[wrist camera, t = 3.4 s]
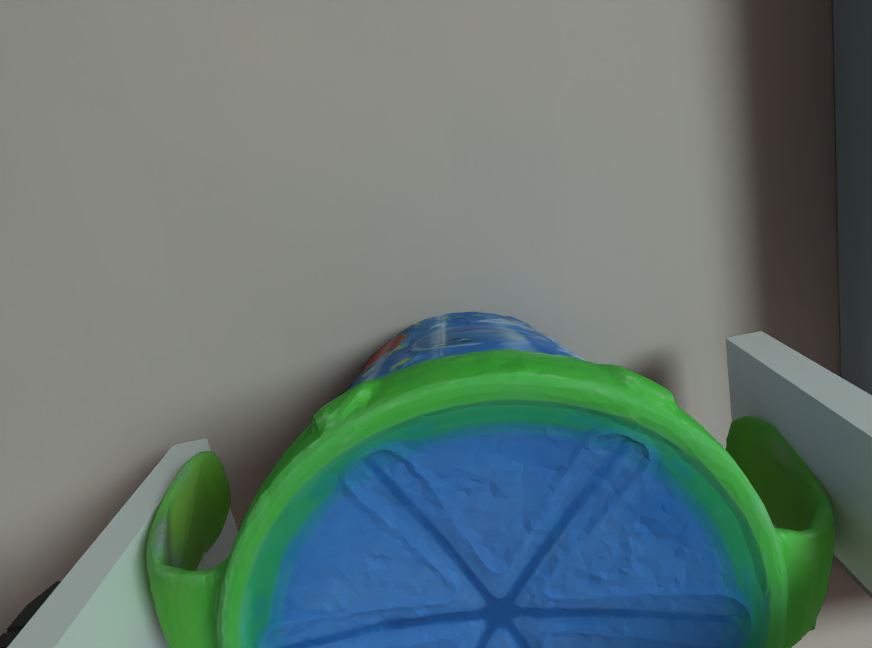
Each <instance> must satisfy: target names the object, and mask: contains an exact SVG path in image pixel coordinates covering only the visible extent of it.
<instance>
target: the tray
mask: <svg viewBox="0 0 872 648" xmlns="http://www.w3.org/2000/svg"><path fill="white" fill-rule="evenodd" d="M833 33H834V79H835V124H836V170H837V215H838V261H839V307H840V352H841V378H843V379H844V380H846V381H848V382H850V383H851V384H853V385H855V386H856V387H858V388H860V389H862V390H863V391H865V392H867V393H868V394H870V395H872V0H833ZM845 571H846V572H847V573H848V574H849V575H850V576H851V577H852V578H853V579H854V580H855V581H856V582H857V583H858V584H859V585H860V586H861V587H862V588H863V589H864V590H865V591H866V592H867V593H868V594H869V595H870V597H871V598H872V593H871V592H870V591H869V590H868V589H867V588H866V587H865V586H864V585H863V584H862V583H861V582H860V581H859V580H858V579H857V578H856V576H855V575H854V574H853V573H852V572H851V571H850V570H849V569H848V568H847V567H846V566H845Z"/></svg>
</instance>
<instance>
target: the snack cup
mask: <svg viewBox="0 0 872 648" xmlns="http://www.w3.org/2000/svg"><path fill="white" fill-rule="evenodd" d="M726 441H727V446H726V450H725V449H724V448H723V447H722V446H721V445H720V443H719V442H718V441H717V440H715V439H714V438H713V437H712V436H711V435H710V434H709V433H708V432H707V431H706V430H705V429H704V428H703V427H702V426H701V425H700V424H699V423H698V422H697V421H695V420H694V419H693V418H692V417H691V416H689V415H688V414H687V413H686V412H684V411H683V410H682V409H680V408H679V407H678V406H677V404H676V402H675V400H674V397H673V394H672V393H671V392H670V391H669V390H667V389H666V388H664V387H662V386H661V385H659V384H657V383H656V382H654V381H652V380H650V379H648V378H646V377H644V376H641V375H639V374H637V373H635V372H632V371H630V370H628V369H625V368H623V367H620V366H615V365H604V364H595V363H592V362H588V361H586V360H585V359H583V358H580V357H579V356H577V355H575V354H574V353H572V352H570V351H568V350H567V349H566V348H564V347H563V346H561V345H560V344H559V343H558V342H556V341H555V340H553V339H552V338H550V337H548V336H547V335H545V334H543V333H541V332H539V331H537V330H536V329H534V328H532V327H531V326H529V325H528V324H526V323H524V322H522V321H520V320H518V319H515V318H513V317H510V316H507V317H505V316H500V315H496V314H488V313H479V312H463V313H451V314H447V315H443V316H439V317H433V318H428V319H426V320H423V321H421V322H419V323H417V324H416V325H411V326H410V327H409V328H407V329H406V330H404V331H403V332H401V333H400V334H399V335H397V336H396V337H394V338H393V339H392V340H390V341H389V342H388V343H387V344H386V345H385V346H383V347H382V348H381V349H380V350H379V351H378V352H377V353H376V354H375V355H374V356H373V357H372V358H371V359H370V361H369V362H368V363H367V364H366V366H365V367H364V368H363V370H362V371H361V372H360V374H359V375H358V376H357V378H356V379H355V380H354V382H353V383H352V384H351V386H350V387H349V388H348V389H347V391H346V392H345V393H343V394H342V395H340V396H338V397H337V398H335V399H333V400H331V401H330V402H329V403H327V404H326V405H324V406H323V407H321V408H320V409H319V410H318V411H317V412H316V413H315V414H314V415H313V417H312V419H311V424H310V425H308V426H307V427H306V428H305V429H304V430H303V431H302V433H301V434H300V435H299V436H298V438H297V439H296V440H295V441H294V442H293V443H292V444H291V445H290V446H289V447H288V448H287V450H286V451H285V453H284V454H283V455H282V457H281V458H280V460H279V461H278V462H277V464H276V465H275V466H274V468H273V469H272V471H271V472H270V474H269V475H268V477H267V478H266V480H265V481H264V482H263V484H262V485H261V487H260V489H259V491H258V492H257V494H256V496H255V497H254V499H253V501H252V502H251V504H250V507H249V509H248V511H247V513H246V515H245V517H244V519H243V521H242V523H241V525H240V528H239V531H238V533H237V536H236V539H235V541H234V544H233V547H232V550H231V553H230V555H229V556H228V557H227V558H226V559H225V560H224V561H223V562H222V563H221V564H219V565H217V566H215V567H213V568H211V569H208V570H199V571H196V569H197V567H198V565H199V563H200V561H201V559H202V557H203V555H204V553H206V552H208V550H209V549H210V548H211V547H212V546H213V544H214V543H215V542H216V540H217V539H218V537H219V536H220V534H221V532H222V530H223V527H224V524H225V522H226V519H227V515H228V512H229V509H230V503H231V501H230V491H229V486H228V482H227V478H226V474H225V471H224V468H223V466H222V464H221V462H220V460H219V458H218V457H217V456H216V455H215V453H213V452H211V451H204V452H200V453H198V454H196V455H194V456H193V457H192V458H190V459H189V460H188V461H187V462H186V463H185V464H184V465H183V466H182V467H181V469H180V470H179V471H178V472H177V474H176V476H175V478H174V480H173V481H172V483H171V484H170V486H169V488H168V490H167V491H166V493H165V495H164V496H163V499H162V501H161V504H160V506H159V507H158V509H157V512H156V515H155V518H154V521H153V523H152V525H151V528H150V532H149V537H148V541H147V549H146V561H147V569H148V575H149V580H150V588H151V594H152V597H153V599H154V603H155V608H156V612H157V615H158V619H159V622H160V625H161V628H162V630H163V633H164V636H165V638H166V641H167V643H168V646H169V648H791V647H792V646H794V645H795V644H796V643H797V642H799V641H800V640H801V639H802V637H803V636H804V635H806V633H807V632H808V631H810V630H814V629H815V624H816V618H817V616H818V613H819V611H820V609H821V606H822V604H823V602H824V599H825V595H826V592H827V588H828V581H829V577H830V573H831V568H832V562H833V553H834V538H835V525H834V520H835V518H834V513H833V508H832V505H831V503H830V500H829V498H828V496H827V494H826V492H825V490H824V489H823V487H822V485H821V483H820V482H819V480H818V479H817V478H816V476H815V475H814V474H813V473H812V471H811V470H810V469H809V468H808V466H807V465H806V464H805V463H804V461H803V460H802V459H801V458H800V457H799V455H798V454H797V453H796V452H795V451H794V449H793V448H792V447H791V446H790V444H789V443H788V442H787V441H786V440H785V438H784V437H783V436H782V435H781V434H780V433H779V432H778V430H777V429H776V428H775V427H774V426H772V425H770V424H768V423H766V422H764V421H762V420H761V419H759V418H756V417H752V416H744V417H741V418H738V419H736V420H734V421H733V422H732V423H731V426H730V430H729V433H728V437H727V439H726ZM772 523H773V524H774V525H775V526H777V527H778V528H775V527H773V524H772Z"/></svg>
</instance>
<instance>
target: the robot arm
mask: <svg viewBox="0 0 872 648" xmlns="http://www.w3.org/2000/svg"><path fill="white" fill-rule="evenodd" d="M726 350H727V363H728V376H729V389H730V402H731V415H732V422H733V421H734V420H736V419H738V418H741V417H744V416H752V417H756V418H759V419H761V420H762V421H764V422H766V423H768V424H770V425H772V426H774V427H775V428H776V429H777V430H778V432H779V433H780V434H781V435H782V436H783V437H784V438H785V440H786V441H787V442H788V443H789V444H790V446H791V447H792V448H793V449H794V451H795V452H796V453H797V454H798V455H799V457H800V458H801V459H802V460H803V461H804V463H805V464H806V465H807V466H808V468H809V469H810V470H811V471H812V473H813V474H814V475H815V476H816V478H817V479H818V480H819V482H820V483H821V485H822V487H823V489H824V490H825V492H826V494H827V496H828V498H829V500H830V503H831V505H832V508H833V513H834V518H835V520H834V525H835V538H834V553H833V554H834V555H835V556H836V557H837V558H838V559H839V560H840V561H841V562H842V563H843V564H844V565H845V566H846V567H847V568H848V569H849V570H850V571H851V572H852V573H853V574H854V575H855V576H856V578H857V579H858V580H859V581H860V582H861V583H862V584H863V585H864V586H865V587H866V588H867V589H868V590H869V591H870V592H871V593H872V395H870V394H868V393H867V392H865V391H863V390H862V389H860V388H858V387H856V386H855V385H853V384H851V383H850V382H848V381H846V380H844V379H843V378H841V377H839V376H838V375H836V374H834V373H832V372H831V371H829V370H827V369H826V368H824V367H822V366H821V365H819V364H817V363H815V362H814V361H812V360H810V359H809V358H807V357H805V356H803V355H802V354H800V353H798V352H797V351H795V350H793V349H791V348H790V347H788V346H786V345H785V344H783V343H781V342H779V341H778V340H776V339H774V338H773V337H771V336H769V335H767V334H766V333H764V332H762V331H759V332H754V333H749V334H743V335H738V336H733V337H728V338H726ZM204 451H211V449H210V446H209V443H208V440H207V438H205V439H200V440H195V441H190V442H185V443H180V444H174V445H173V446H172V447H171V448H170V450H169V451H168V452H167V453H166V455H165V456H164V457H163V458H162V459H161V461H160V462H159V463H158V464H157V465H156V467H155V468H154V469H153V470H152V472H151V473H150V474H149V475H148V476H147V478H146V479H145V480H144V481H143V483H142V484H141V485H140V486H139V487H138V489H137V490H136V491H135V492H134V494H133V495H132V496H131V497H130V498H129V500H128V501H127V502H126V503H125V505H124V506H123V507H122V508H121V509H120V511H119V512H118V513H117V514H116V515H115V517H114V518H113V519H112V520H111V522H110V523H109V524H108V525H107V526H106V528H105V529H104V530H103V531H102V533H101V534H100V535H99V536H98V537H97V539H96V540H95V541H94V542H93V544H92V545H91V546H90V547H89V548H88V550H87V551H86V552H85V553H84V555H83V556H82V557H81V558H80V559H79V561H78V562H77V563H76V564H75V565H74V567H73V568H72V569H71V570H70V572H69V573H68V574H67V575H66V576H65V578H64V579H63V580H62V581H58V582H56V583H54V584H53V585H52V586H51V587H49V588H48V589H47V590H46V591H44V592H43V593H42V594H41V595H39V596H38V597H37V598H35V599H34V600H33V601H32V602H30V603H29V604H28V605H27V606H26V607H25V608H24V610H23V611H22V612H21V613H20V614H19V615H18V617H17V618H16V619H15V620H14V621H13V623H12V624H11V625H10V626H9V627H8V628H7V633H4V634H2V635H1V637H0V648H169V646H168V643H167V641H166V638H165V636H164V633H163V630H162V628H161V625H160V622H159V619H158V615H157V612H156V608H155V603H154V599H153V597H152V594H151V588H150V580H149V575H148V569H147V561H146V549H147V541H148V537H149V532H150V528H151V525H152V523H153V521H154V518H155V515H156V512H157V509H158V507H159V506H160V504H161V501H162V499H163V496H164V495H165V493H166V491H167V490H168V488H169V486H170V484H171V483H172V481H173V480H174V478H175V476H176V474H177V472H178V471H179V470H180V469H181V467H182V466H183V465H184V464H185V463H186V462H187V461H188V460H189V459H190V458H192V457H193V456H194V455H196V454H198V453H200V452H204ZM237 533H238V529H237V526H236V523H235V520H234V517H233V514H232V512H231V509H229V512H228V515H227V519H226V522H225V524H224V527H223V530H222V532H221V534H220V536H219V537H218V539H217V540H216V542H215V543H214V544H213V546H212V547H211V548H210V549H209V550H208V552H206V553H204V555H203V557H202V559H201V561H200V563H199V565H198V567H197V569H196V571H199V570H208V569H211V568H213V567H215V566H217V565H219V564H221V563H222V562H223V561H224V560H225V559H226V558H227V557H228V556H229V555H230V553H231V550H232V547H233V544H234V541H235V539H236V536H237Z"/></svg>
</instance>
